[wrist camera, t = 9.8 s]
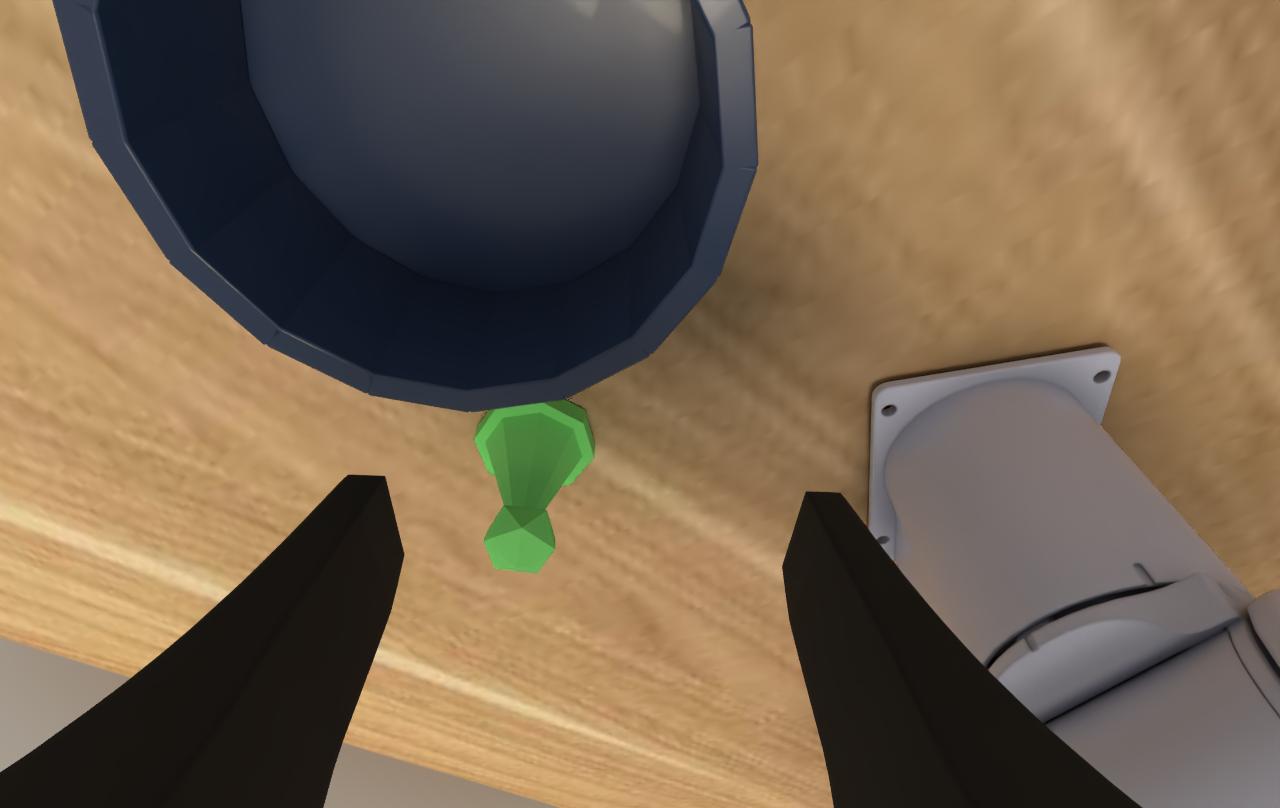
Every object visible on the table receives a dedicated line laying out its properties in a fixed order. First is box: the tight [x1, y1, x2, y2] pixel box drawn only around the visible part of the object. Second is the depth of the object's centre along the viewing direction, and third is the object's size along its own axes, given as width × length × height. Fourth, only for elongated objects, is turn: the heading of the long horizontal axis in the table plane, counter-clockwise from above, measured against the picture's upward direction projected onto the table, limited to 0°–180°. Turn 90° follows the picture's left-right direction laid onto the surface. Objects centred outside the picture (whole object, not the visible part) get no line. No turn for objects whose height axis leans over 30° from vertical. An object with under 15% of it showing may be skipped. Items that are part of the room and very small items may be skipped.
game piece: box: [474, 399, 595, 573], centre depth 21 cm, size 4×4×6 cm
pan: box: [52, 0, 758, 412], centre depth 14 cm, size 12×12×5 cm
